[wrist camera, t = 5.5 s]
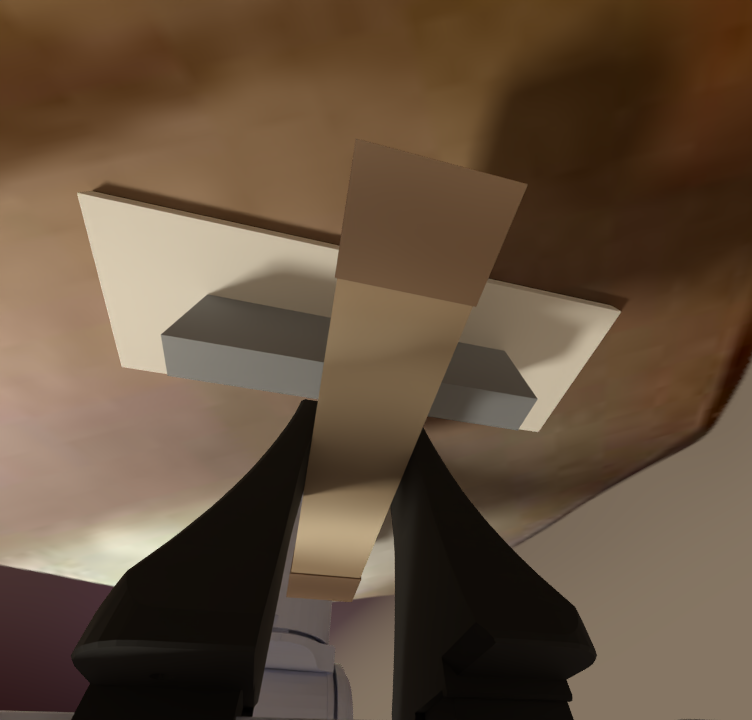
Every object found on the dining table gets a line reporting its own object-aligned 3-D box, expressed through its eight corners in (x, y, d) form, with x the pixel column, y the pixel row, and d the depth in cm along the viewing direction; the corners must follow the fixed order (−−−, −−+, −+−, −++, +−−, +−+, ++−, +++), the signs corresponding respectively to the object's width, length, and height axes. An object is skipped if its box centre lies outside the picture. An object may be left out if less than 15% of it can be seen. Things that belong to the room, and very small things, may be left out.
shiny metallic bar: (361, 143, 9) (355, 137, 5) (468, 171, 9) (528, 183, 6) (301, 513, 18) (286, 597, 15) (355, 519, 19) (351, 602, 15)
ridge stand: (533, 423, 22) (571, 486, 18) (130, 359, 19) (61, 418, 15) (611, 305, 17) (688, 353, 13) (90, 190, 14) (-29, 206, 10)
